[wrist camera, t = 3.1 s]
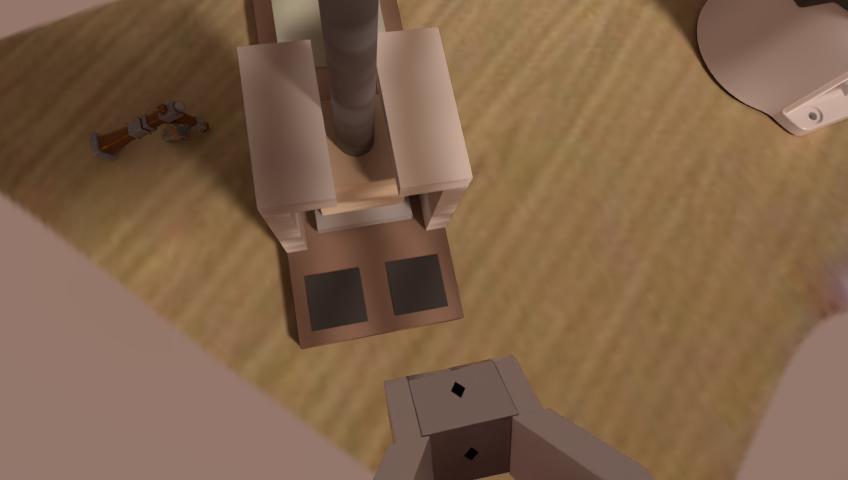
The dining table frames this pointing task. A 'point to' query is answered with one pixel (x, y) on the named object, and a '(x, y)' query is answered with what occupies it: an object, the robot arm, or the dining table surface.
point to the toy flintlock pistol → (148, 129)
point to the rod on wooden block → (356, 121)
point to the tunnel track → (313, 182)
